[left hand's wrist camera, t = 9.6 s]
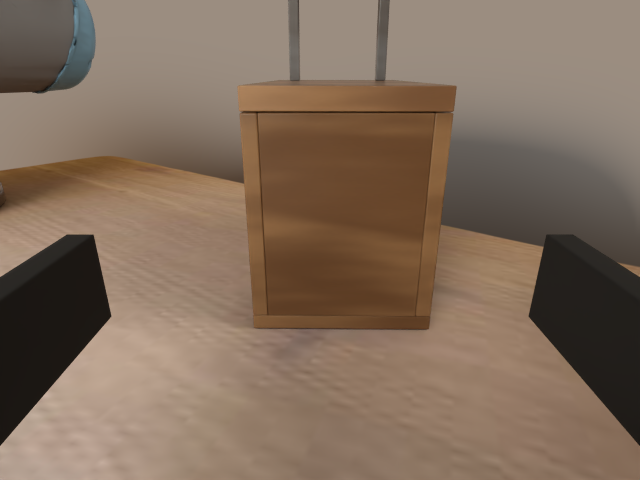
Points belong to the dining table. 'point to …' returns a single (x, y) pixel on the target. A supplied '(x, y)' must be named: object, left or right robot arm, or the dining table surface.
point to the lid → (345, 84)
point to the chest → (344, 216)
